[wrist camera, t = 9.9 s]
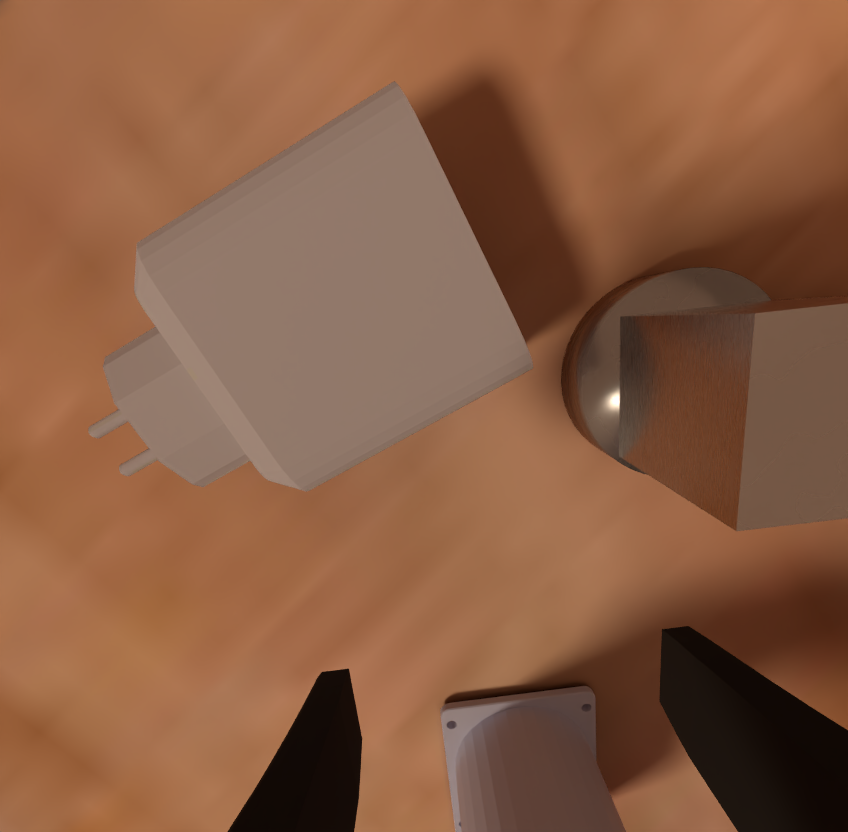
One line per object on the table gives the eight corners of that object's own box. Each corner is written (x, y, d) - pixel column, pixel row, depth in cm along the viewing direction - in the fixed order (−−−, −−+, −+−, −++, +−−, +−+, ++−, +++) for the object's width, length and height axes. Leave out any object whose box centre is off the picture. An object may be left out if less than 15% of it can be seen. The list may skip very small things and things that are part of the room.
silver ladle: (969, 419, 18) (1182, 456, 13) (563, 468, 18) (623, 525, 13) (1009, 233, 17) (1274, 194, 11) (557, 286, 16) (624, 270, 11)
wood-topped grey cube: (752, 440, 16) (943, 506, 10) (618, 456, 16) (736, 531, 10) (765, 300, 15) (992, 287, 9) (620, 316, 14) (755, 313, 9)
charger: (77, 339, 16) (398, 142, 15) (213, 518, 18) (505, 357, 17) (-55, 346, 12) (394, 63, 10) (148, 585, 14) (542, 371, 12)
